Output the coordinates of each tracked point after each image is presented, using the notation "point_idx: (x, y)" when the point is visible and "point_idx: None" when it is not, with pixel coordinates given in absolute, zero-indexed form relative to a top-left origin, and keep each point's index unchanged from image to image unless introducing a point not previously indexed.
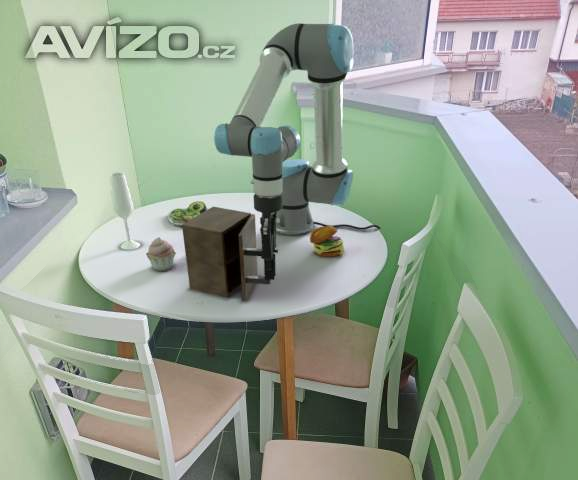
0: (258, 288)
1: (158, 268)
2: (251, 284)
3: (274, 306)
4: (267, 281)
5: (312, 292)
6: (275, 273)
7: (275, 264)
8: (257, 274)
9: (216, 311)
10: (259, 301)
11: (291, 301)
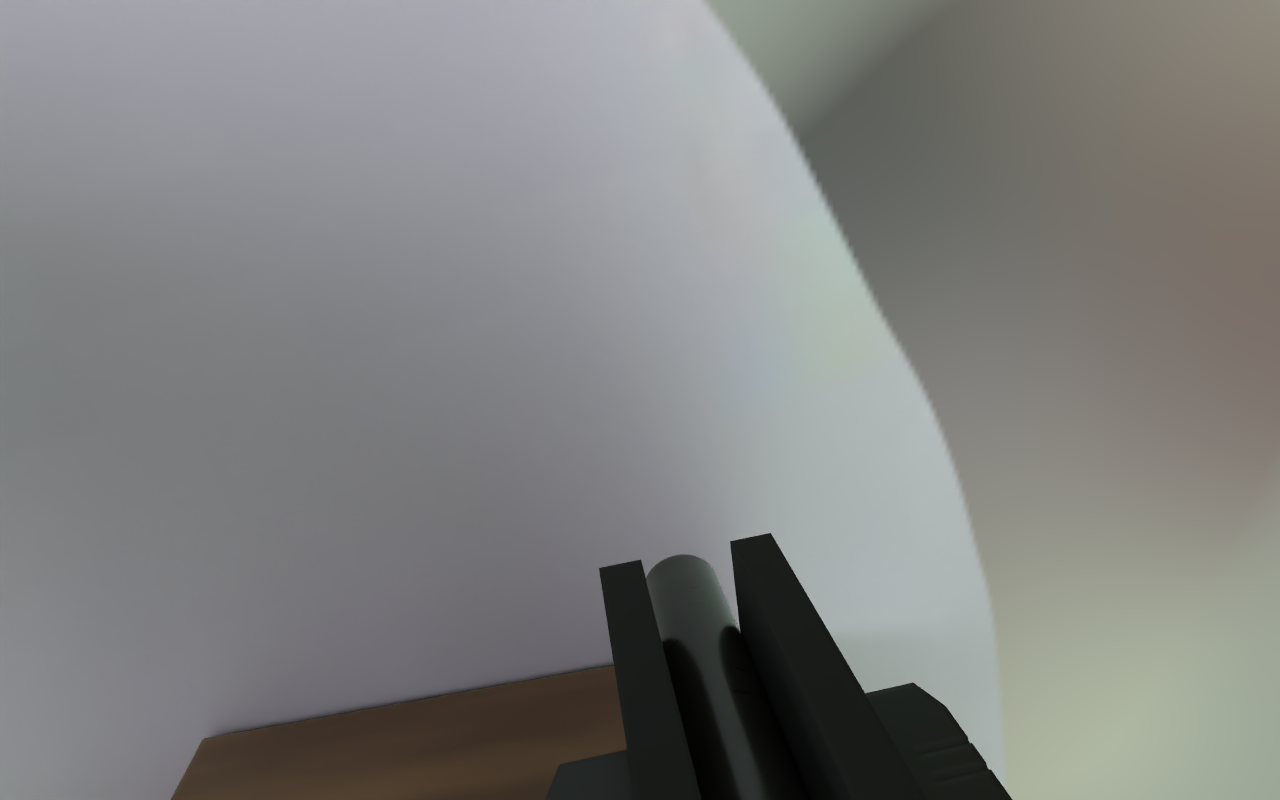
0: (454, 636)
1: None
2: (500, 723)
3: (781, 369)
4: (726, 601)
5: (307, 5)
6: (624, 586)
7: (623, 704)
8: (201, 757)
9: None
10: (712, 535)
11: (633, 224)
